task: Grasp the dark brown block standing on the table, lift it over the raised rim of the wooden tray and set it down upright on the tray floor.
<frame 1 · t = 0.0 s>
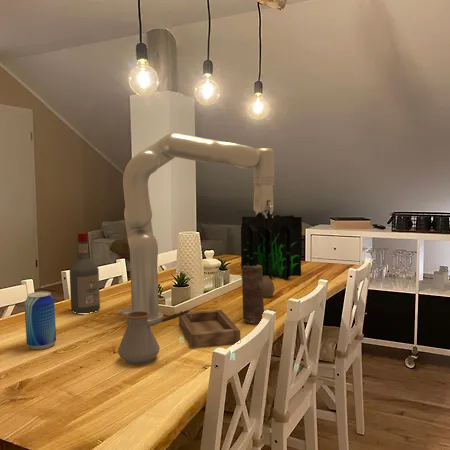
hand: (264, 227, 182), 31 cm above the table, tool pointing down, fingers open, 9 cm apart
vase: (266, 297, 204), on the table
wooden tray: (207, 333, 157), on the table
beer can: (41, 346, 148), on the table
liquor: (85, 311, 185), on the table
dark brown block: (253, 322, 170), on the table
coffee pot: (155, 361, 134), on the table
decorative plant: (271, 275, 248), on the table
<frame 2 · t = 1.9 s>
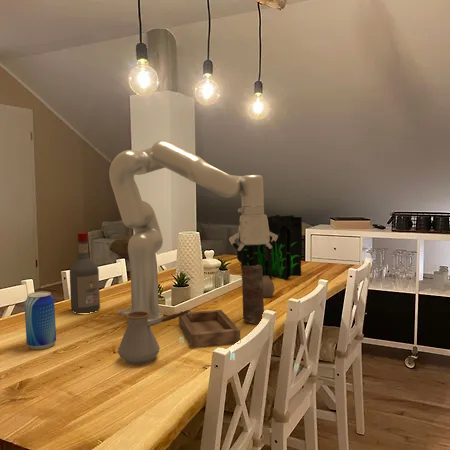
hand: (254, 260, 167), 21 cm above the table, tool pointing down, fingers open, 9 cm apart
nothing on the table moved.
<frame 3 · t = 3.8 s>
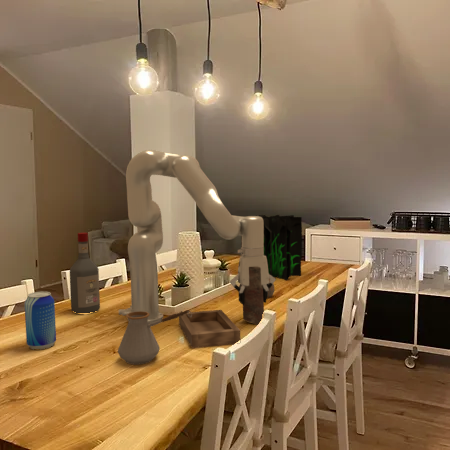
hand: (253, 302, 169), 7 cm above the table, tool pointing down, fingers closed on dark brown block, 7 cm apart
dark brown block: (253, 322, 169), on the table, touching gripper
everything else where it was.
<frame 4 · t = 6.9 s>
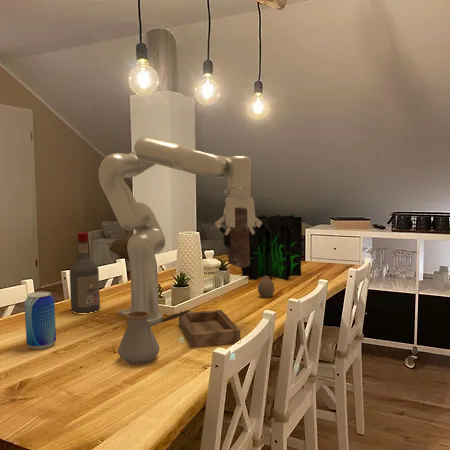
hand: (238, 245, 163), 27 cm above the table, tool pointing down, fingers closed on dark brown block, 7 cm apart
dark brown block: (238, 266, 164), point 20 cm above the table, touching gripper
everything else where it was.
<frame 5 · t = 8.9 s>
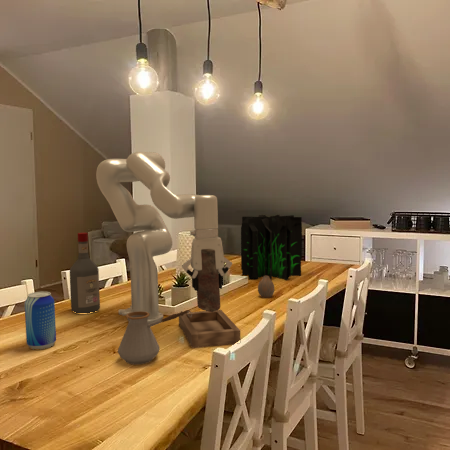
hand: (207, 288, 156), 15 cm above the table, tool pointing down, fingers closed on dark brown block, 7 cm apart
dark brown block: (208, 310, 156), point 8 cm above the table, touching gripper
everything else where it was.
when the fingers open (9 cm above the table, at t = 10.4 s): dark brown block drops 1 cm, resting on wooden tray.
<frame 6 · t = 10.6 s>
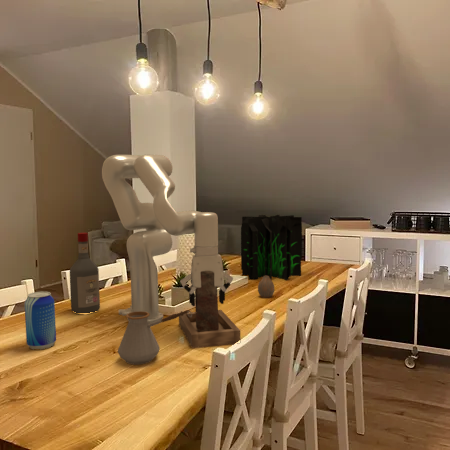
hand: (207, 304, 156), 10 cm above the table, tool pointing down, fingers open, 9 cm apart
dark brown block: (207, 330, 157), point 1 cm above the table, touching wooden tray
everything else where it was.
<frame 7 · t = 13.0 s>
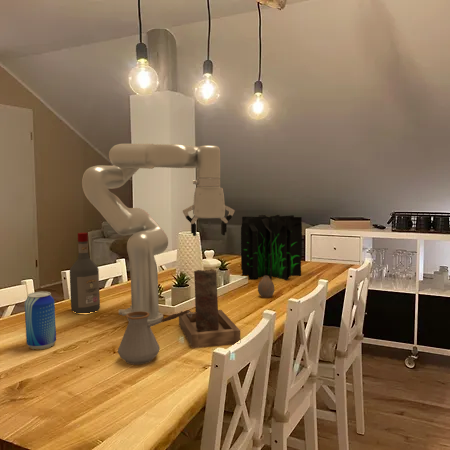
hand: (208, 235, 162), 31 cm above the table, tool pointing down, fingers open, 9 cm apart
nothing on the table moved.
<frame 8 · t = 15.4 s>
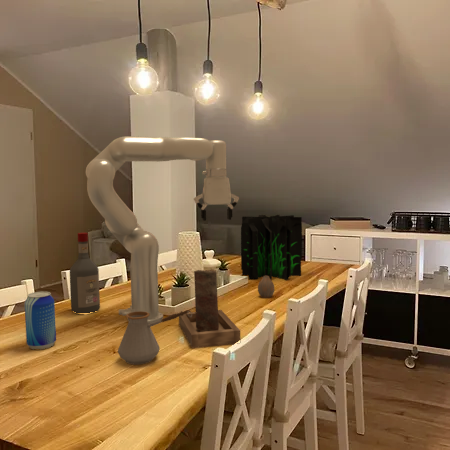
hand: (216, 219, 182), 34 cm above the table, tool pointing down, fingers open, 9 cm apart
nothing on the table moved.
at the end: dark brown block inside the target area on the wooden tray (0.2 cm from its centre), point 0.8 cm above the wooden tray's base; dark brown block tilted 0°; the gripper is holding nothing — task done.
